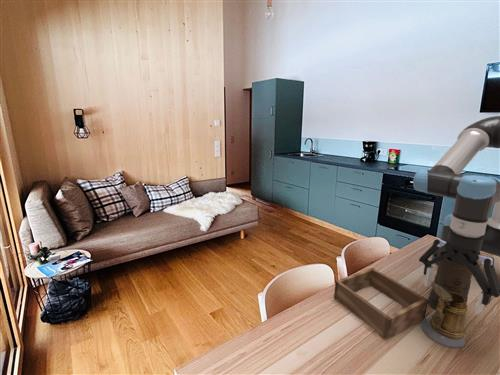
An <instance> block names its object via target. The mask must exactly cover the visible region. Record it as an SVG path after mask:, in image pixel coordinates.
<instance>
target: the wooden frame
mask: <svg viewBox="0 0 500 375" xmlns="http://www.w3.org/2000/svg"><path fill="white" fill-rule="evenodd" d="M334 284H335V286H334V294H333V299H334V300H336V301H337V302H338V303H340V304H341V305H342V306H343V307H345V308H346V309H347V310H348V311H349V312H351V313H352V314H353V315H354V316H356V317H357V318H358V319H360V321H362V322H364V323H365V324H366V325H367V326H368V327H370V328H371V329H372V330H374V332H376V333H377V334H378V335H380V336H381V337H382V338H383V339H385V341H386V340H388V339H390V338H392V337H394V336H396V335H397V334H399V333H402V332H403V331H404V330H406V329H408V328H410V327H412V326H414V325H415V324H417V323H419V322H420V321H423V320H425V319H426V314H427V311H428V305H429V304H428V301H429V300H428V298H426V297H424V296H423V295H421V294H419V293H418V292H416V291H414V290H412V289H411V288H409V287H407V286H405V285H403V284H402V283H400V282H398V281H397V280H394V279H393V278H391V277H390V276H388V275H386V274H385V273H383V272H381V271H379V270H377V269H376V268H374V267H370V268H368V269H365V270H362V271H359V272H357V273H354V274H352V275H348V276H346V277H343V278H341V279H338V280H335V283H334ZM369 287H372V288H374V289H375V290H376V291H379V293H381V294H383V295H385V297H388V298H389V299H391V300H392V301H394V302H396V303H397V304H398V305H400V307H401V306H402V307H403V308H402V309H400V310H398V311H396V312H395V313H392V314H389V315H387V314H386V313H385V312H384V311H382V310H380V309H379V308H378V307H377V306H375V305H374V304H373V303H371V302H370V301H369V300H366V299H365V298H364V297H363V296H361V295H360V294H358V293H357V292H359V291H362V290H364V289H366V288H369Z"/></svg>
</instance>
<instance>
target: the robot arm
mask: <svg viewBox="0 0 500 375" xmlns="http://www.w3.org/2000/svg"><path fill="white" fill-rule="evenodd" d="M486 148H489V149H490V148H491V149H492V148H493V149H500V115H496V116H495V115H494V116H489V117H486V118H482V119H480V120H478V121H475V122H474V123H471V124H469V125H468V126H466V127H465V128H464V129H463V130H462V131H461V132H460V133H459V134H458V136H457V140H456V141H455V143H454V144H453V145H452V146H451V147H450V148H448V150H447V151H446V152H445V153H444V155H443V156H441V158H440V159H439V160H438V161H437V162H436V163H435V164H434V165H433V166H432V167H431V168H430V169H425V168H424V169H423V168H421V169H418V170H417V171H416V172H415V174H414V176H413V179H412V184H413V189H414V190H415V191H417V192H420V193H421V192H422V193H425V194H427V195H428V194H430V195H432V196H433V195H434V196H438V197H439V196H440V197H444V198H450V199H452V200H453V199H454V200H455V201H454V206H453V211H452V213H450V214H447V215H445V217H444V221H443V222H442V230H441V234H440V237H439V238H436V239H434V241H433V243H432V245H431V246H430V247H429V248H428V249H427V250H426V252H424V253H423V254H422V255H421V256H420V257H419V258H418V261H419V262H420V263H422V264H423V265H424V267H423V276H424V275H425V279H424V284H423V286H424V287H426V288H427V287H429V286H431V282H433V280H434V279H433V278H434V273H435V270H436V269H435V268H436V266H434V265H435V264H436V265H437V266H438V264H439V261H441V260H443V259H446V258H448V257H450V259H452V261H454V262H458V263H459V264H461V265H466V266H467V268H468V269H469V270H470V271H471V272H472V276H473V278H474V279H475V281H476V282H477V284H478V286H479V287H480V289H481V291H480V292H479V294H478V298H477V301H476V305H475V309H474V314H475V315H477V316H478V315H479V314H481V313H482V312H483V311H484V307H485V306H488V305H489V304H490V303H491V301H492V300H491V299H492V297H494V298H499V297H500V280H499V278H498V274H497V271H496V268H495V258H494V257H493V255H494V256H496V257H498V258H500V178H498V177H494V176H485V175H475V174H474V175H473V174H472V175H471V174H470V175H466V174H461V173H463V171H464V169H465V168H466V167H467V166H468V165H469V163H470V162H471V161H472V160H473V159H474V157H475V156H476V155H477V154H478V153H479V152H481V151H483V150H485V149H486ZM492 206H493V210H492V213H491V208H492ZM490 213H491V217H490V216H489V215H490ZM445 250H446V251H447V253H445V254H443V255H441V256H439V257H438V255H439V253H440V252H441V251H445ZM481 252H482V253H487V254H489V255H492V256H489V257H488V256H485V255H482V254H481ZM429 258H431V260H430V259H429ZM478 261H480V262H481V265H483V269H484V273H485V274H484V273H483V271H482V268H481V267H480V264H479V262H478ZM471 263H472V264H473V265H472V264H471Z"/></svg>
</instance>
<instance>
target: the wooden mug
mask: <svg viewBox="0 0 500 375" xmlns="http://www.w3.org/2000/svg"><path fill="white" fill-rule="evenodd" d="M430 286H431V289H432V288H433V290H434V291H435V292H436V293H437V294H438V295H439V297H440V298H439V303H438V305H437V308H436V310H434V313H433V314H432V315H431V317H430V318H431V319H430V324H431V326H432V327H433V328H434V329H435V330H436V331H438V332H439V333H440V334H442V335H444V336H446V337H449V338H452V339H461V338H463V336H465V335H466V327H465V326H466V314H467V311H468V300H467V301H466V299H465V298H464V297H463V296H461V295H460V294H458V293H455V292H451V291H447V290H446V289H445V288H444V287H443V286H441V285H440V284H438V283H434V281H432V282H431V285H430Z"/></svg>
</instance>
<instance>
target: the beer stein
mask: <svg viewBox="0 0 500 375" xmlns="http://www.w3.org/2000/svg"><path fill="white" fill-rule="evenodd" d="M445 253H447V251H446V250H445V251H441V252H440V253H439V255H438V257H439V256H441V255H443V254H445ZM471 264H472V263H471ZM472 265H473V264H472ZM472 276H473V274H472V272H471V271H470V270H469V269H468V268H467V266H466V265H461V264H459V263H458V262H454V261H452V259H450V257H448V258H446V259H443V260H441V261H439V264H438V265H437V269H436V274H435V276H434V279H433V282H434V283H438V284H440V285H441V286H443V287H444V288H445V289H446V290H447V291H451V292H455V293H458V294H460V295H461V296H463V297H464V298H465V299H466V301H467V302H468V299H469V297H468V296H469V293H470V288H471V284H472ZM439 298H440V297H439V295H438V294H437V293H436V292H435V291H434V290H433V288H432V287H431V289H430V291H429V296H428V298H427V299H428V300H429V301H428V305H429V307H430V308H431V309H433V310H434V311H435V310H436V308H437V305H438V303H439Z"/></svg>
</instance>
